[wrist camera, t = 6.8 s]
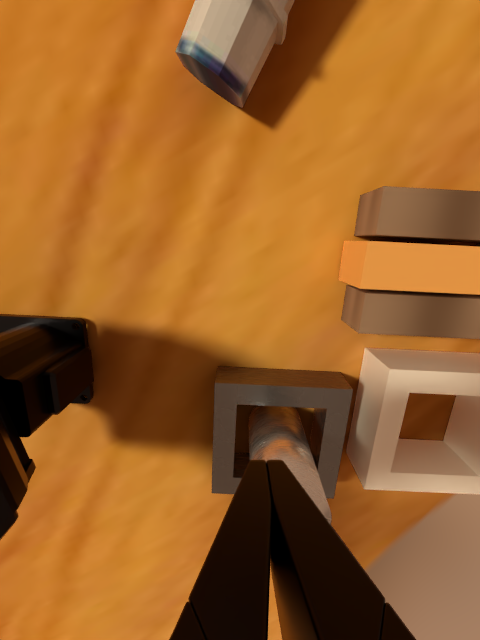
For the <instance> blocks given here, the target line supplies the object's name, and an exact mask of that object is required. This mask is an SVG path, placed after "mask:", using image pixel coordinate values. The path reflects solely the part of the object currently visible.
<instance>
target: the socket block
mask: <svg viewBox="0 0 480 640" xmlns="http://www.w3.org/2000/svg"><path fill="white" fill-rule="evenodd" d="M352 393H353V389H352V387H351V386H350V385H349V383H348V382H347V381H346V379H345V378H344V377H343V375H342V374H341V373H340V372H328V371H306V370H285V369H264V368H243V367H222V366H218V368H217V374H216V379H215V392H214V428H213V465H212V493H220V494H235V492H236V490H237V488H238V485H239V483H240V481H241V479H242V476H243V474H244V472H245V470H246V467H247V465H248V463H249V461H250V453H237V452H234V449H235V429H236V410H237V404H240V405H261V406H283V407H304V408H315V409H314V416H313V424H312V431H311V438H310V445H309V447H310V450H311V453H312V456H313V459H314V462H315V465H316V468H317V471H318V474H319V478H320V481H321V484H322V487H323V490H324V493H325V496H326V498H334V494H335V488H336V483H337V477H338V471H339V466H340V460H341V455H342V449H343V443H344V438H345V432H346V426H347V421H348V415H349V410H350V404H351V398H352Z"/></svg>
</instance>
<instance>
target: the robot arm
mask: <svg viewBox="0 0 480 640" xmlns="http://www.w3.org/2000/svg"><path fill="white" fill-rule="evenodd" d="M75 323H77V324H78V325H79V328H77V327H76V325H75ZM93 381H94V378H93V368H92V358H91V350H90V349H89V347H88V338H87V329H86V323H85V321H84V320H83V319H81V318H71V317H50V316H30V315H9V314H0V540H1V539H2V537H3V536H4V535H5V534H6V533H7V532H8V530H9V529H10V528H11V527H12V526H13V524H14V523H15V521H16V520H17V518H18V513H17V511H16V510H17V509H18V507H19V505H20V503H21V502H22V500H23V498H24V496H25V494H26V492H27V487H28V483H29V480H30V478H31V476H32V474H33V472H34V470H35V468H36V467H35V464H34V462H33V460H32V459H29V457H28V454H27V452H26V450H25V448H24V446H23V443H22V441H21V439H20V437H29V436H30V435H31V434H32V433H33V432H35V431H36V430H37V429H38V428H39V427H40V426H41V425H42V424H43V423H44V422H45V421H46V420H48V419H49V418H50V417H51V416H52V415H58V414H59V413H60V412H61V411H62V410H63V409H64V408H66V407H67V406H68V405H69V404H70V403H80V404H86V403H89V402H90V401H91V400H92V398H93V386H92V382H93ZM84 395H86V396H87V398H86V397H84ZM270 564H271V572H272V579H273V585H274V591H275V597H276V603H277V609H278V616H279V622H280V628H281V634H282V640H416V639H415V637H414V636H413V635H412V634H411V632H410V631H409V630H408V628H407V627H406V626H405V624H404V623H403V622H402V620H401V619H400V618H399V616H398V615H397V613H396V612H395V611H394V609H393V608H392V607H391V605H390V604H389V603H385V598H384V596H383V595H382V593H381V592H380V591H379V589H378V588H377V587H376V585H375V584H374V583H373V581H372V580H371V579H370V577H369V576H368V574H367V573H366V572H365V570H364V569H363V568H362V566H361V565H360V564H359V562H358V561H357V560H356V558H355V557H354V556H353V554H352V553H351V552H350V550H349V549H348V547H347V546H346V545H345V543H344V542H343V541H342V539H341V538H340V537H339V535H338V534H337V533H336V531H335V530H334V529H333V527H332V526H331V525H330V523H329V522H328V520H327V519H326V518H325V516H324V515H323V514H322V512H321V511H320V510H319V508H318V507H317V506H316V504H315V503H314V502H313V500H312V499H311V498H310V496H309V495H308V494H307V492H306V491H305V489H304V488H303V487H302V485H301V484H300V483H299V481H298V480H297V479H296V477H295V476H294V475H293V473H292V472H291V471H290V469H289V468H288V467H287V465H286V464H285V462H284V461H283V460H267V462H266V461H265V460H250V461H249V463H248V465H247V467H246V470H245V472H244V474H243V476H242V479H241V481H240V483H239V485H238V488H237V490H236V492H235V494H234V497H233V499H232V501H231V503H230V506H229V508H228V510H227V512H226V515H225V517H224V519H223V521H222V524H221V526H220V528H219V530H218V533H217V535H216V537H215V539H214V542H213V544H212V546H211V548H210V551H209V553H208V555H207V557H206V560H205V562H204V564H203V566H202V569H201V571H200V573H199V575H198V578H197V580H196V582H195V584H194V587H193V589H192V591H191V593H190V596H189V602H187V603H186V604H185V606H184V609H183V611H182V613H181V615H180V618H179V620H178V622H177V624H176V627H175V629H174V631H173V633H172V635H171V637H170V639H169V640H267V639H268V611H269V583H270Z"/></svg>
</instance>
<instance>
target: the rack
mask: <svg viewBox="0 0 480 640" xmlns="http://www.w3.org/2000/svg"><path fill="white" fill-rule="evenodd" d="M409 393H425V394H446V395H456V398H455V402H454V405H453V409H452V412H451V415H450V419H449V422H448V426H447V429H446V433H445V436H444V439H443V441H439V440H417V439H398V438H399V434H400V430H401V426H402V422H403V417H404V413H405V409H406V405H407V401H408V397H409ZM346 453H347V455H348V457H349V459H350V461H351V463H352V466H353V468H354V470H355V472H356V474H357V476H358V478H359V480H360V482H361V484H362V486H363V488H364V489H368V490H391V491H414V492H436V493H459V494H480V353H465V352H444V351H423V350H403V349H382V348H365V350H364V356H363V361H362V367H361V372H360V378H359V383H358V389H357V394H356V400H355V405H354V411H353V416H352V422H351V427H350V433H349V438H348V444H347V449H346Z"/></svg>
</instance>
